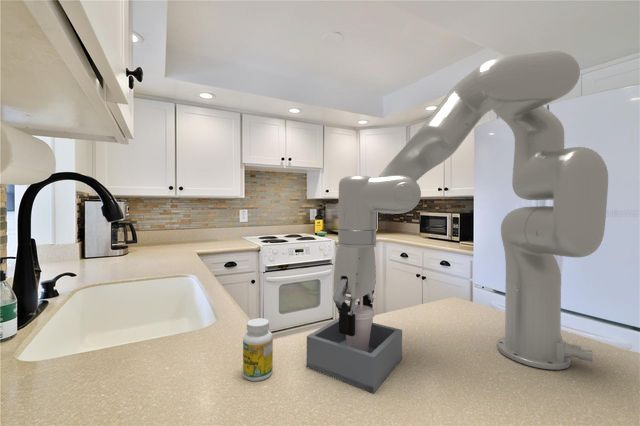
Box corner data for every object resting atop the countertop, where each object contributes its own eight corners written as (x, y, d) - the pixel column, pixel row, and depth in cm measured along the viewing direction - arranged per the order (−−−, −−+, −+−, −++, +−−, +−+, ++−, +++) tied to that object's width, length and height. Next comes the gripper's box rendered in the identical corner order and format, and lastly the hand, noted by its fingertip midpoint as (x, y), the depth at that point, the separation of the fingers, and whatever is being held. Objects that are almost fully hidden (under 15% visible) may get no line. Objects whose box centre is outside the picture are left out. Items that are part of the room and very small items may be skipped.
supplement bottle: (278, 370, 54) (278, 320, 54) (259, 385, 49) (259, 329, 50) (256, 363, 57) (257, 314, 57) (236, 376, 52) (236, 323, 52)
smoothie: (373, 368, 54) (374, 293, 54) (339, 363, 55) (340, 290, 55) (373, 352, 60) (375, 284, 60) (343, 348, 61) (344, 282, 61)
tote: (401, 358, 59) (402, 329, 59) (373, 393, 48) (374, 357, 48) (342, 341, 67) (343, 315, 67) (306, 367, 55) (306, 336, 56)
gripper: (359, 235, 67) (359, 311, 67) (316, 240, 52) (315, 338, 52) (391, 236, 62) (390, 318, 62) (353, 243, 48) (352, 349, 48)
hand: (356, 326), depth 57 cm, fingers open, 7 cm apart
